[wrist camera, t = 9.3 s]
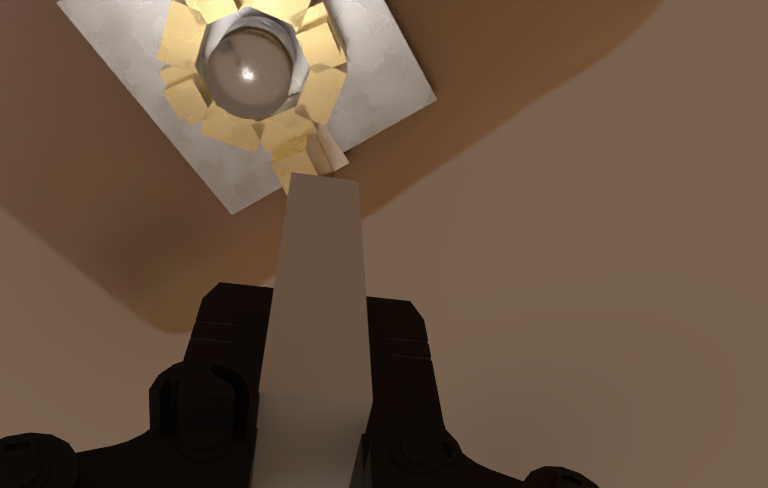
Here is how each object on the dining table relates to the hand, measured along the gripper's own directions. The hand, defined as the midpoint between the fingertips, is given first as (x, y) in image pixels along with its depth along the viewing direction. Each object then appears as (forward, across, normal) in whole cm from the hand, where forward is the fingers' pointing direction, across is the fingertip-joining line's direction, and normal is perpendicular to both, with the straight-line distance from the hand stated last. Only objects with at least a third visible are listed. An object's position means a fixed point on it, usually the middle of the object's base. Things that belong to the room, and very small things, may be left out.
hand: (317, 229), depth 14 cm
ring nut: (+25, -3, -5) cm, 25 cm away
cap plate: (+26, -4, -3) cm, 27 cm away
